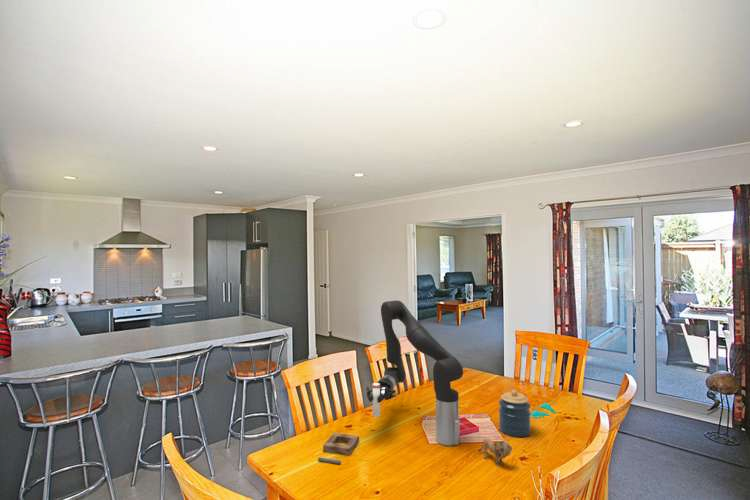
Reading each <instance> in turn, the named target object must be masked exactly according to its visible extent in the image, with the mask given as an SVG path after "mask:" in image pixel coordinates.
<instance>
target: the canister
mask: <svg viewBox="0 0 750 500" xmlns="http://www.w3.org/2000/svg"><path fill="white" fill-rule="evenodd" d="M498 404H499V408H498V413H499V414H498V417H499V418H498V419H499V420H498V421H499V422H498V427H499V430H500V431H501V433H502V434H505V435H507V436H510V437H514V438H525V437H528V436H529V435H531V431H532V427H531V410H530V408H531V406H532V405H531V404H530V403H529V398H528V397H526V396H525V395H524V394H522V393H520V392H518V391H517V390H516V389H512V390H511V391H507V392H505V393H503V394H501V395H500V399H499V400H498Z"/></svg>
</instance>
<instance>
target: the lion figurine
mask: <svg viewBox="0 0 750 500" xmlns="http://www.w3.org/2000/svg"><path fill="white" fill-rule="evenodd" d="M482 441H483V442H482V445H481V447H480V448H479V449H477V451H478V452H481V451H483V459H484V460H485V459H487V458H488V456H487V454H488V451H489V452H490V453H491V454H493V455H494V457H495V467H500V465H502V464H504V461H502V460H503V459H505V458H506V457H508V456H510V454H511V453H512V451H513V446H512V445H510V442H509V441H507V440H502V441H499V442H493V441H492V440H491V439H490V438H488V437H485V438H484V439H483V440H482Z"/></svg>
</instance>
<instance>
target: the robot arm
mask: <svg viewBox="0 0 750 500" xmlns="http://www.w3.org/2000/svg"><path fill="white" fill-rule="evenodd" d="M380 316H381V321H382V327H383V333H384V337H385V344H386V345H385V346H386V360H387V363H389V364H392V365H395V367H394V366H393V367H392V366H388V367H385V369H384V372H383V376H382V377H380V378H379V380H378V381H377V382H376V383H380V395H379V396H378V403H380V404H381V402H382V401H384V400H386V401H389V400H391V399H393V398H395V397H396V394H397V392H396V389H395V387H396V386H397V385H398V384H399V383H400V384H402V383H404V382H405V380H406V375H407V374H406V371H405V368H404V364H403V362H402V361H403V360H402V349H401V348H402V346H401V342H400V340H399V338H398V336H397V335H396V333H395V331H394V328H393V321H394V320H399V321H400V322H401V323H402V324H403V325H404V327H405V335H406V339H407V340H408V342H409V343H410V345H412V347H413V348H414V349H415V350H417V351H418V352H419V353H422V354H423V355H425V356H427V357H430V358H431V359H433V360H435V362H434V364H433V368H432V374H433V375H432V376H433V377H432V378H433V390H434V394H435V431H436V432H435V440H436V442H437V443H438V444H439V445H442V446H449V447H450V446H459V443H460V415H459V414H460V413H459V412H460V411H459V410H460V409H459V408H460V407H459V400H460V398H459V397H460V396H459V391H457V389H455V388H452V386H451V382H455V381H457V380H460V379H462V377H463V375H464V369H463V366H462V364H461V363H460V361H459V360H458V359H457V358H456V357H455V356H454V355H452V353H450V352H449V351H448V350H447V349H445V348H444V347H443V346H442V345H441V344H440V343H439V341H437V340H436V339H435V338H434V337H433V336H432V335H431V333H430V332H429V331H428V330H427V329H426V328H425V327H424V326H423V325H422V324H421V323H420V322H419V321H418V320H417V319H416V318H415V317H414V316H413V315H412V313H411V311H410V310H409V309H408V308H407V306H406V305H405V304H404V303H403V302H402V301H401V300H397V299H396V300H390V301H385V302H382V304H381V307H380ZM365 394H366V398H367V399H368V401H369V403H371V402H373V387H372V388H370V387H368V386H367V387H365Z"/></svg>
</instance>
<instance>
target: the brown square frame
mask: <svg viewBox="0 0 750 500" xmlns="http://www.w3.org/2000/svg"><path fill="white" fill-rule="evenodd" d="M359 443H360V435H354V434H347V433H340V432H333V433H332V435H331V436H330V437H329V438H328V439H327V440H326V441H325V442H324V443H323V445H322V452H324V453H331V454H336V455H342V456H343V455H344V456H351V454H352V453H353V452H354V450H355V449H356V448H357V446H358V445H359Z"/></svg>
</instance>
